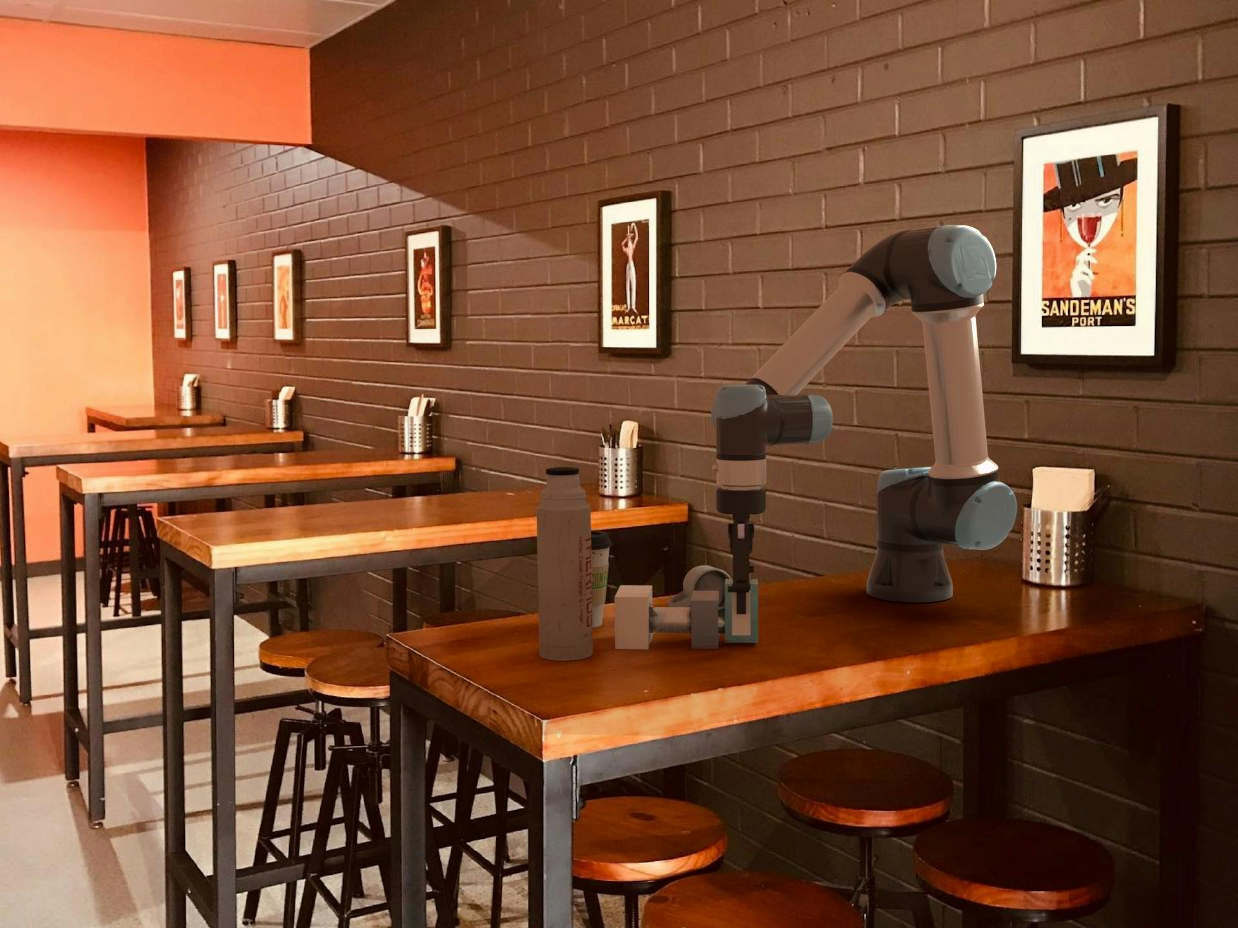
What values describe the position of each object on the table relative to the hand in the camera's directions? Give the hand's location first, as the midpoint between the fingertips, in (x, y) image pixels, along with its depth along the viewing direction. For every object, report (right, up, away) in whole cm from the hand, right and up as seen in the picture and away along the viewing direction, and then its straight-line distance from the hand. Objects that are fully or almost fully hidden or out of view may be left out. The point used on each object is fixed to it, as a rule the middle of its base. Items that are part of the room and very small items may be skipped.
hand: (741, 624), depth 195 cm
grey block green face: (-7, -2, +1) cm, 8 cm away
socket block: (-16, -3, +2) cm, 17 cm away
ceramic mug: (-5, -1, +25) cm, 26 cm away
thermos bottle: (-27, -4, -5) cm, 27 cm away
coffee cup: (-25, -2, +15) cm, 29 cm away
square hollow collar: (-5, -3, +1) cm, 6 cm away
